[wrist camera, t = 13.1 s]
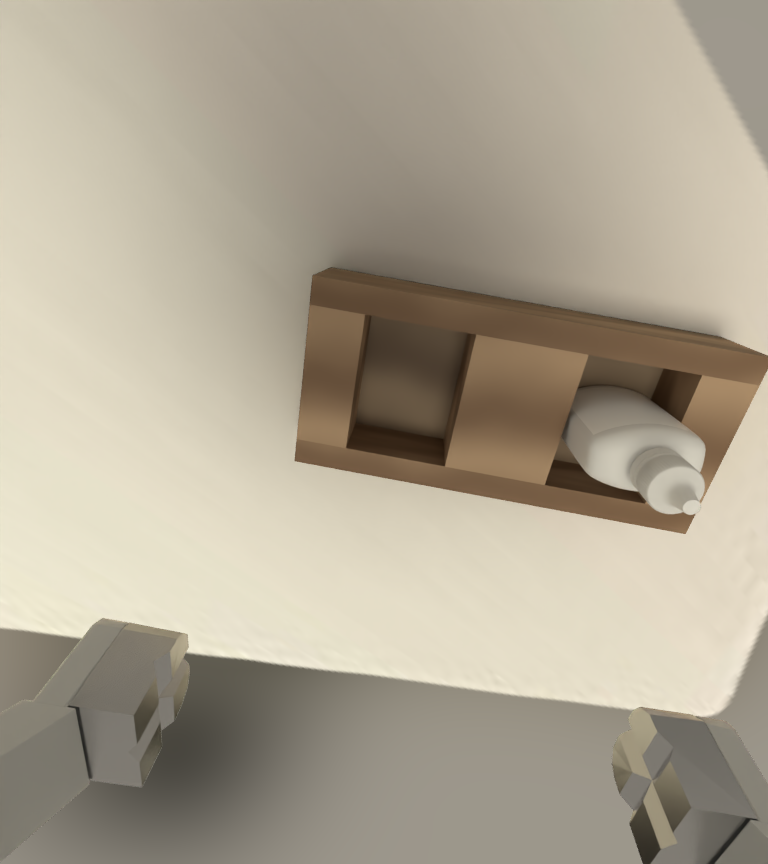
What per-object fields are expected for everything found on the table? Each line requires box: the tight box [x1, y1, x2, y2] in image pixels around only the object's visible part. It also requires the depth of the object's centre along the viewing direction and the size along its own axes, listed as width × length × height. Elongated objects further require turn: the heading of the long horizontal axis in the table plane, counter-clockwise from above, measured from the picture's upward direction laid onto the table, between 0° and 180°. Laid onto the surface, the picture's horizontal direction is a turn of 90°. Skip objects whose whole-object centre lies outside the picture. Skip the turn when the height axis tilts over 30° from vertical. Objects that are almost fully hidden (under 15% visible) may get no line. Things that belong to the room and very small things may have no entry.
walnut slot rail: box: [295, 267, 768, 534], centre depth 30 cm, size 11×24×5 cm, turn 81°
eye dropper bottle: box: [561, 385, 706, 515], centre depth 25 cm, size 4×6×12 cm
